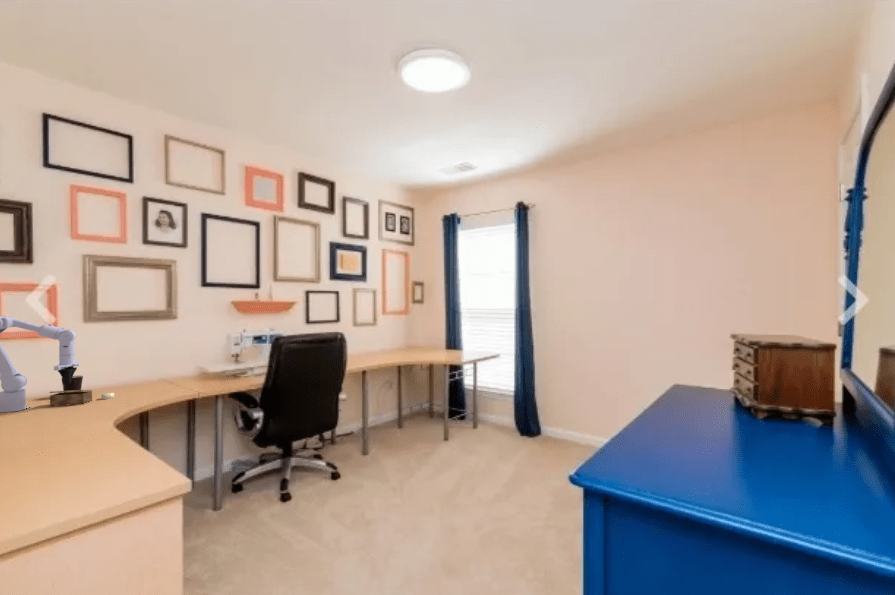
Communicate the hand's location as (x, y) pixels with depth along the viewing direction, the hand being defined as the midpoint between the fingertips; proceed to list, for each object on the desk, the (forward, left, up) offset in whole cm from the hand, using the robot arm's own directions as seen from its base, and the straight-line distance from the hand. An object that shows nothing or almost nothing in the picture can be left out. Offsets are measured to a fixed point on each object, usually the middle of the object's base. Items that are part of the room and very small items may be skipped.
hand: (67, 383), depth 205 cm
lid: (0, +2, -5) cm, 5 cm away
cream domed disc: (+11, +11, -11) cm, 19 cm away
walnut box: (0, +2, -10) cm, 11 cm away
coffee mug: (-12, +22, -11) cm, 27 cm away
